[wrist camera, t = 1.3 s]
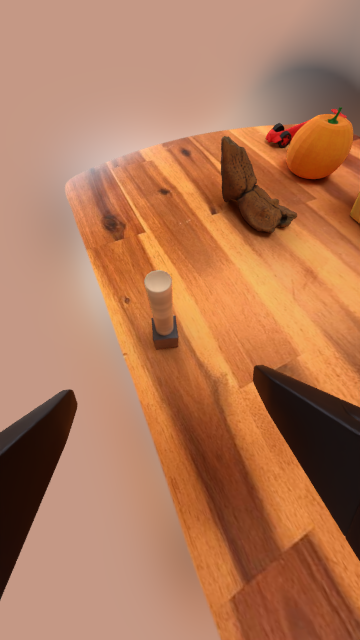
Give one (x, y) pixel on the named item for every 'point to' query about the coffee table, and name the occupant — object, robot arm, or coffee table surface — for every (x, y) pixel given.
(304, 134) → the fruit
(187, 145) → the coffee table surface
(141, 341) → the coffee table surface
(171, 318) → the brush
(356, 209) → the flower pot
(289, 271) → the coffee table surface
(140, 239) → the coffee table surface
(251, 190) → the sculpture
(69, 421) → the robot arm
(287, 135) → the toy car
